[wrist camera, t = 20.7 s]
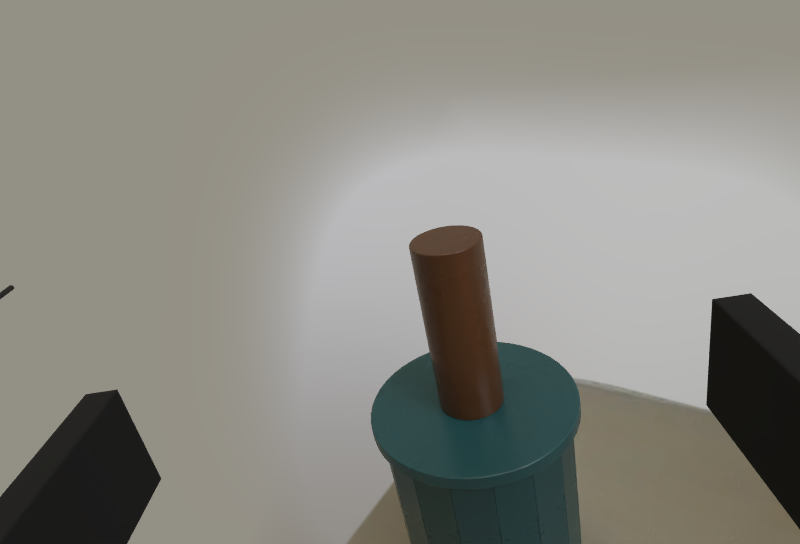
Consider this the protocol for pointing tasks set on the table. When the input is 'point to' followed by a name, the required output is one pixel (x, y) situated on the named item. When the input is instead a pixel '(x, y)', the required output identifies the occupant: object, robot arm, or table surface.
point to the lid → (470, 383)
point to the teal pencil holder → (496, 509)
